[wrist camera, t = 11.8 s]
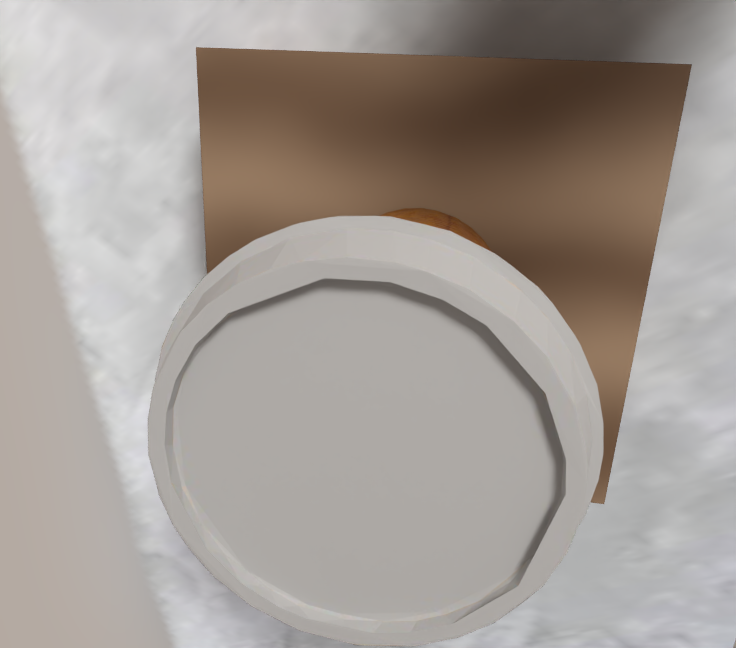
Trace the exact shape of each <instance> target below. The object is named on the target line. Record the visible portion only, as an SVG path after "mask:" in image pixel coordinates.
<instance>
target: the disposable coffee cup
mask: <svg viewBox="0 0 736 648" xmlns="http://www.w3.org/2000/svg"><path fill="white" fill-rule="evenodd" d="M148 455H149V459H150V462H151V466H152V470H153V474H154V477H155V481H156V485H157V489H158V492H159V496H160V498H161V500H162V502H163V505H164V507H165V509H166V511H167V513H168V515H169V517H170V519H171V522H172V524H173V526H174V527H175V529H176V530H177V532H178V533H179V535H180V536H181V538H182V539H183V541H184V542H185V544H186V545H187V546H188V548H189V549H190V550H191V551H192V553H193V554H194V555H195V556H196V557H197V558H198V559H199V561H200V562H201V563H202V564H203V565H204V566H205V567H206V569H207V570H208V571H209V572H210V573H211V574H212V575H213V576H214V577H215V578H216V579H217V580H219V581H220V582H221V583H222V584H224V585H225V586H226V587H227V588H229V589H230V590H231V591H233V592H234V593H235V594H236V595H238V596H239V597H240V598H241V599H243V600H244V601H245V602H247V603H248V604H249V605H250V606H252V607H254V608H256V609H258V610H260V611H262V612H264V613H266V614H267V615H269V616H271V617H273V618H275V619H277V620H279V621H281V622H283V623H285V624H287V625H289V626H291V627H293V628H295V629H297V630H299V631H303V632H307V633H311V634H315V635H319V636H323V637H326V638H330V639H334V640H338V641H342V642H346V643H350V644H354V645H373V646H411V647H414V646H419V645H424V644H429V643H433V642H438V641H443V640H448V639H453V638H458V637H461V636H463V635H466V634H468V633H471V632H473V631H476V630H478V629H481V628H483V627H485V626H488V625H490V624H493V623H495V622H496V621H497V620H499V619H500V618H502V617H503V616H505V615H506V614H507V613H509V612H510V611H512V610H513V609H514V608H516V607H517V606H519V605H520V604H522V603H523V602H524V601H525V600H527V599H528V598H529V597H530V596H531V595H533V594H534V593H535V592H536V591H538V590H539V589H540V588H541V587H543V586H544V584H545V583H546V581H547V580H548V579H549V577H550V576H551V575H552V573H553V572H554V570H555V569H556V568H557V566H558V565H559V563H560V562H561V561H562V559H563V558H564V557H565V555H566V554H567V552H568V550H569V547H570V545H571V543H572V540H573V538H574V535H575V533H576V530H577V528H578V526H579V525H580V523H581V521H582V520H583V518H584V517H585V515H586V513H587V510H588V507H589V505H590V502H591V499H592V496H593V494H594V491H595V488H596V485H597V483H598V480H599V475H600V469H601V464H602V458H603V417H602V411H601V405H600V399H599V393H598V386H597V383H596V381H595V378H594V376H593V374H592V371H591V369H590V366H589V364H588V362H587V359H586V357H585V354H584V352H583V350H582V347H581V345H580V343H579V341H578V340H577V338H576V336H575V335H574V333H573V332H572V330H571V329H570V327H569V326H568V325H567V323H566V322H565V320H564V319H563V317H562V316H561V315H560V313H559V312H558V310H557V309H556V307H555V306H554V304H553V303H552V302H551V301H550V300H549V299H548V297H547V296H546V295H545V294H544V293H543V292H542V291H541V290H540V289H539V287H538V286H536V285H535V284H534V283H533V282H531V281H530V280H529V279H528V278H526V277H525V276H524V275H523V274H521V273H520V272H519V271H518V270H516V269H515V268H514V267H513V266H511V265H510V264H509V263H507V262H506V261H505V260H503V259H502V258H500V257H499V256H498V255H496V254H495V253H493V252H492V251H491V250H490V248H489V247H488V245H487V244H486V242H485V241H484V240H483V239H482V237H481V236H480V235H478V234H477V233H476V232H475V231H474V230H473V229H472V228H471V227H470V226H468V225H467V224H465V223H464V222H462V221H460V220H459V219H457V218H455V217H453V216H450V215H447V214H445V213H442V212H439V211H436V210H430V209H425V208H404V209H400V210H395V211H390V212H387V213H384V214H382V215H379V216H336V217H328V218H323V219H317V220H312V221H307V222H301V223H298V224H294V225H291V226H289V227H286V228H284V229H281V230H278V231H276V232H273V233H271V234H268V235H266V236H263V237H260V238H258V239H255V240H254V241H252V242H250V243H249V244H247V245H246V246H244V247H242V248H241V249H239V250H238V251H236V252H235V253H233V254H231V255H230V256H228V257H227V258H226V259H225V260H223V261H222V262H221V263H220V264H219V265H218V266H216V267H215V268H214V269H213V270H212V271H211V272H209V273H208V274H207V275H206V276H205V277H204V278H203V279H202V280H201V281H200V282H199V284H198V285H197V286H196V287H195V289H194V290H193V291H192V292H191V294H190V295H189V296H188V298H187V299H186V300H185V301H184V303H183V304H182V306H181V308H180V309H179V311H178V313H177V314H176V316H175V318H174V320H173V322H172V324H171V327H170V329H169V331H168V334H167V336H166V338H165V341H164V343H163V345H162V349H161V354H160V358H159V363H158V368H157V372H156V377H155V384H154V387H153V391H152V397H151V403H150V409H149V415H148Z"/></svg>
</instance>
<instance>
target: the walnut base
mask: <svg viewBox="0 0 736 648" xmlns="http://www.w3.org/2000/svg"><path fill="white" fill-rule="evenodd" d="M196 57H197V78H198V98H199V119H200V139H201V159H202V180H203V200H204V221H205V241H206V261H207V274H208V273H209V272H211V271H212V270H213V269H214V268H215V267H216V266H218V265H219V264H220V263H221V262H222V261H223V260H225V259H226V258H227V257H228V256H230V255H231V254H233V253H235V252H236V251H238V250H239V249H241V248H242V247H244V246H246V245H247V244H249V243H250V242H252V241H254V240H255V239H258V238H260V237H263V236H266V235H268V234H271V233H273V232H276V231H278V230H281V229H284V228H286V227H289V226H291V225H294V224H298V223H301V222H307V221H312V220H317V219H323V218H328V217H336V216H379V215H382V214H384V213H387V212H390V211H395V210H400V209H404V208H425V209H430V210H436V211H439V212H442V213H445V214H447V215H450V216H453V217H455V218H457V219H459V220H460V221H462V222H464V223H465V224H467V225H468V226H470V227H471V228H472V229H473V230H474V231H475V232H476V233H477V234H478V235H480V236H481V237H482V239H483V240H484V241H485V242H486V244H487V245H488V247H489V248H490V250H491V251H492V252H493V253H495V254H496V255H498V256H499V257H500V258H502V259H503V260H505V261H506V262H507V263H509V264H510V265H511V266H513V267H514V268H515V269H516V270H518V271H519V272H520V273H521V274H523V275H524V276H525V277H526V278H528V279H529V280H530V281H531V282H533V283H534V284H535V285H536V286H538V287H539V289H540V290H541V291H542V292H543V293H544V294H545V295H546V296H547V297H548V299H549V300H550V301H551V302H552V303H553V304H554V306H555V307H556V309H557V310H558V312H559V313H560V315H561V316H562V317H563V319H564V320H565V322H566V323H567V325H568V326H569V327H570V329H571V330H572V332H573V333H574V335H575V336H576V338H577V340H578V341H579V343H580V345H581V347H582V350H583V352H584V354H585V357H586V359H587V362H588V364H589V366H590V369H591V371H592V374H593V376H594V378H595V381H596V383H597V386H598V393H599V399H600V405H601V411H602V417H603V458H602V464H601V469H600V475H599V480H598V483H597V485H596V488H595V491H594V494H593V496H592V499H591V502H592V503H600V504H604V502H605V497H606V492H607V487H608V482H609V477H610V472H611V467H612V462H613V457H614V452H615V447H616V442H617V437H618V432H619V427H620V422H621V417H622V412H623V407H624V402H625V397H626V392H627V387H628V382H629V377H630V372H631V367H632V362H633V357H634V352H635V347H636V342H637V336H638V331H639V326H640V321H641V316H642V311H643V306H644V301H645V296H646V291H647V286H648V281H649V276H650V271H651V266H652V261H653V256H654V251H655V246H656V241H657V236H658V231H659V226H660V221H661V216H662V211H663V206H664V201H665V196H666V191H667V186H668V181H669V176H670V171H671V166H672V161H673V156H674V151H675V146H676V141H677V136H678V131H679V126H680V121H681V116H682V111H683V106H684V101H685V96H686V91H687V86H688V81H689V76H690V71H691V66H692V64H665V63H636V62H607V61H577V60H548V59H519V58H490V57H461V56H432V55H403V54H374V53H345V52H316V51H287V50H258V49H229V48H199V47H196Z"/></svg>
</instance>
